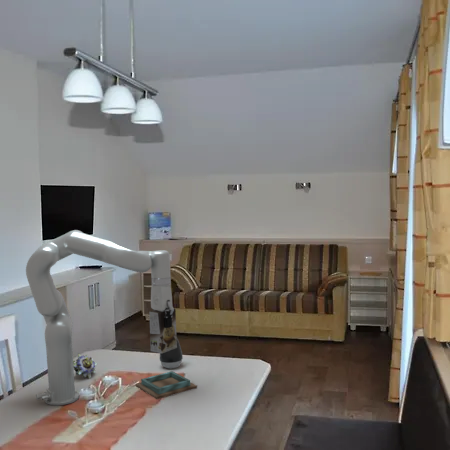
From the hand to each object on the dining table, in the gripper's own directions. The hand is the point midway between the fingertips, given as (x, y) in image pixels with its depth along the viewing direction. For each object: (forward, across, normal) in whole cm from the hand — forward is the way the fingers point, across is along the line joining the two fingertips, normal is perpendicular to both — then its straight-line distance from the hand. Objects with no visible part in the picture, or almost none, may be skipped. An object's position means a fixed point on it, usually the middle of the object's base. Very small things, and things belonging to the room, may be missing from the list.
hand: (163, 325), depth 217 cm
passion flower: (+26, -35, -21) cm, 48 cm away
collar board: (+25, 0, 0) cm, 25 cm away
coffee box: (+10, 0, 0) cm, 10 cm away
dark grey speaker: (+25, -20, +14) cm, 35 cm away
